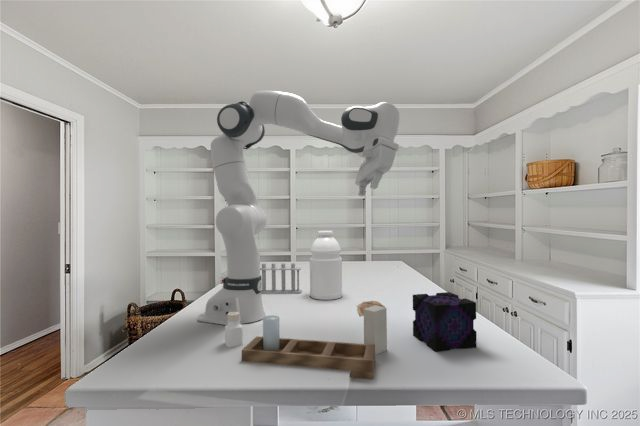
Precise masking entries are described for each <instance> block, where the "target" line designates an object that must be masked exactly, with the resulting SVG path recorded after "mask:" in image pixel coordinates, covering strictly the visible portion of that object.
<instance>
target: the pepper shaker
mask: <svg viewBox="0 0 640 426" xmlns="http://www.w3.org/2000/svg"><path fill="white" fill-rule="evenodd" d="M239 320H240V315H239V312H230V313H228V314H227V321H228V325H224V344H225V345H226V347H227V348H233V347H238V346H242V345H243V344H244V341H243V340H244V338H243V337H244V336H243V334H244V333H243V331H244V330H243V327H244V326H243V324H239Z"/></svg>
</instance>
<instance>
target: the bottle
mask: <svg viewBox="0 0 640 426" xmlns="http://www.w3.org/2000/svg"><path fill="white" fill-rule="evenodd" d="M333 231H334V230H318V231H317V236H318V237H317V238H316V239H315V240H314V241H313V242H312V244H311V246H310V250H309V251H310V252H311V253H312V255H311V256H310V257H309V295H310V297H311V299H315V300H319V301H321V300H323V301H330V300H337V299H340V298H341V297H343V275H342V274H343V270H342V269H343V267H342V266H343V258H342V257H341V255H340V253H341V251H342V248H341V245H340V243H339V241H338V240H337V239H336V238H335V237H334V232H333Z"/></svg>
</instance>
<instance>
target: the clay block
mask: <svg viewBox="0 0 640 426" xmlns="http://www.w3.org/2000/svg"><path fill="white" fill-rule="evenodd" d="M387 321H388V317H387V307H386V306H385V307H381V306H377V305H375V306H372V307H369V308H365V309H364V316H363V344H371V345H375V356H378V355H379V354H381V353H384V352H386V351H388V328H387V327H388V326H387V325H388V324H387V323H388V322H387Z"/></svg>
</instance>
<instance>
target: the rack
mask: <svg viewBox="0 0 640 426" xmlns="http://www.w3.org/2000/svg"><path fill="white" fill-rule="evenodd" d="M241 362H251V363H260V364H262V363H264V364H270V365H271V364H273V365H282V366H283V365H285V366H296V367H297V366H298V367H307V368H319V369H330V370H340V371H350V372H349V374H348V375H349V376H348V378H355V379H357V378H358V379H367V380H373V379H374V372H375V365H376V355H375V345H371V344H364V343H354V342H340V341H339V342H338V341H327V340H326V341H325V340H311V339H299V338H283V337H280V352H276V351H264V350H263V336H255V338H253V339H251V341H250V342H249V343H248V344H247V345H245V346H244V348H242V349H241Z"/></svg>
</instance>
